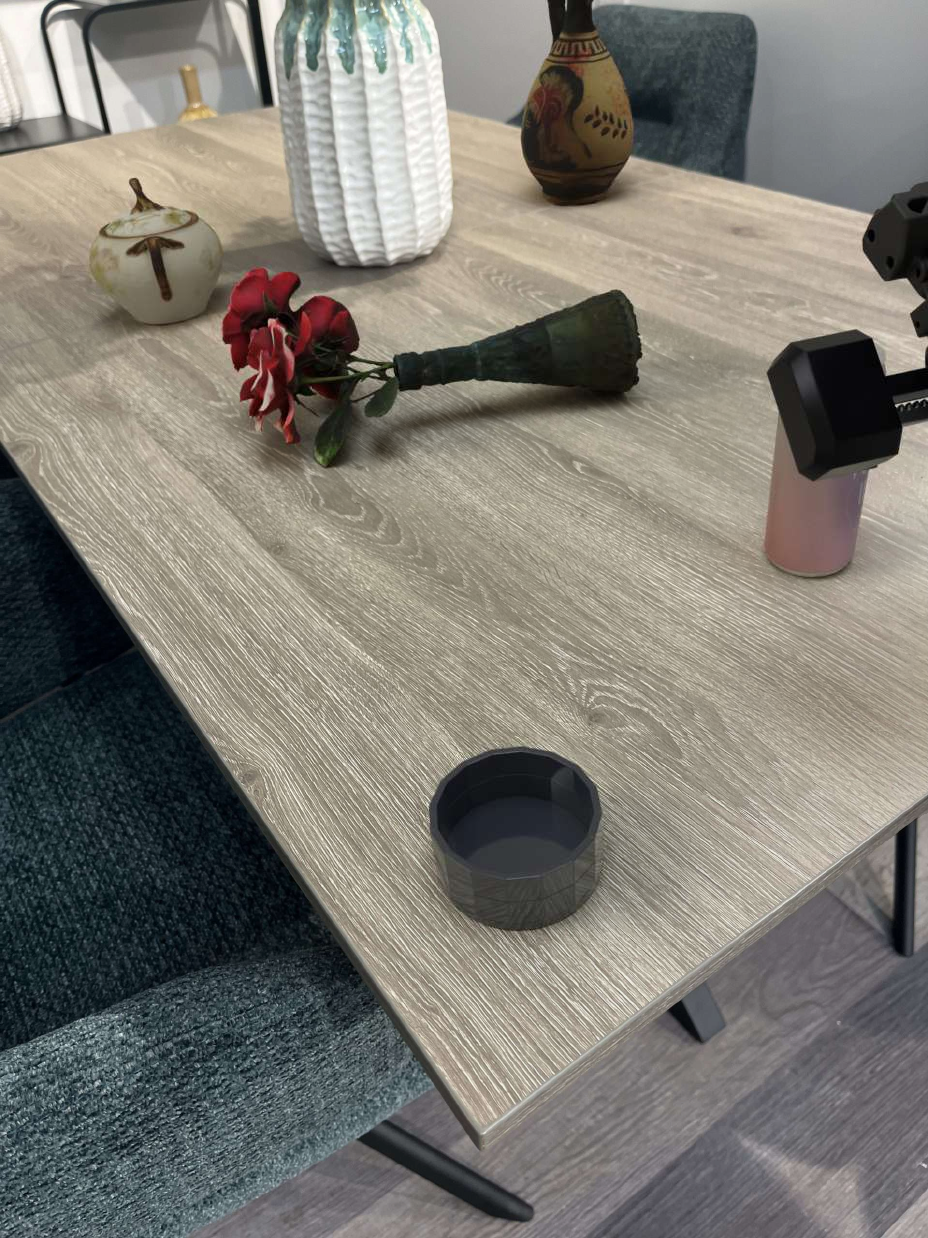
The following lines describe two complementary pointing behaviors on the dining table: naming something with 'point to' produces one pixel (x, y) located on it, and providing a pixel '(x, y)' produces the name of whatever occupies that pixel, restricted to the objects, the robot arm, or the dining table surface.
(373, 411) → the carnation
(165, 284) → the sugar bowl
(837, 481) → the beverage can
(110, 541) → the dining table surface
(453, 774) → the pot
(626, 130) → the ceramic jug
